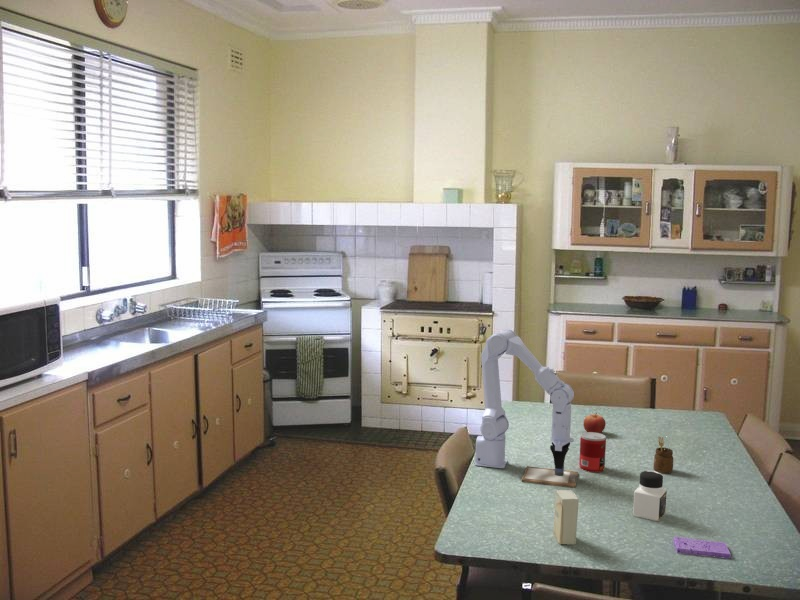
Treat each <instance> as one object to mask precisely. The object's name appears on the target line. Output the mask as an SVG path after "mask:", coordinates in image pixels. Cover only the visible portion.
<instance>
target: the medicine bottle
mask: <svg viewBox="0 0 800 600" xmlns="http://www.w3.org/2000/svg"><path fill="white" fill-rule="evenodd" d="M663 481H664V475H663V473H659V472H656V471H655V470H643V471H641V472H640V473H639V484H638V485H639V486H638V487H637V488H636V489H635V490H634V492H633V509H632V515H633V517H637V518H641V519H645V520H650V521H654V522H659V521H661V520H662V518H663V516H665V514H666V510H667V509H666V505H667V489H666V488H663V484H664V483H663Z"/></svg>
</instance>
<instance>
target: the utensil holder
mask: <svg viewBox="0 0 800 600" xmlns="http://www.w3.org/2000/svg"><path fill="white" fill-rule="evenodd" d="M667 438H668V439H669V440H670V439H671V437H669V436H668V435H667V436H665V438H664V437H662V436H658V445H659V446H660V447H657V448H656V449H655V454H654V455H653V456H654V457H653V471H655V472H658V473H660V474H664V475H665V474H671V473H672V472H673V469H674V456H673V454H674V453H673V449H671V448H670V447H671V446H672V445H671V444H668V446H667V447H665V443H664V442H665V439H667Z"/></svg>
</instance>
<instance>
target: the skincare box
mask: <svg viewBox="0 0 800 600" xmlns="http://www.w3.org/2000/svg"><path fill="white" fill-rule="evenodd" d="M579 500H580V499H579V497H578V496H577V495H576V494H575V492H574V491H573V490H572V489H556V490H555V502H554V503H555V504H554V515H553V516H554V517H553V519H554V520H553V531H552V535H553V536H554V539H555V540H556V541H557V543H558V545H561V544H567V545H576V544H577V543H576V541H577V529H578V528H577V527H578V518H579V517H578V516H579V515H578V514H579V502H580V501H579ZM561 546H562V545H561Z"/></svg>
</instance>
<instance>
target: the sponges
mask: <svg viewBox="0 0 800 600" xmlns="http://www.w3.org/2000/svg"><path fill="white" fill-rule="evenodd" d="M672 541H673V544H674V547H676V548H675V551H676V553H677V554H683V553H685V554H684V555H692V554H694V556H701V555H706V556H705V557H710V556H715V557H714V558H719V557H724V558H723V559H730V558H731V552H730V550H729V548H728V546H727V544H726V542H722V541H713V540H705V539H699V538H698V539H697V538H696V539H695V538H689V537H688V538H687V537H681V536H673V540H672ZM729 557H730V558H729Z"/></svg>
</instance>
